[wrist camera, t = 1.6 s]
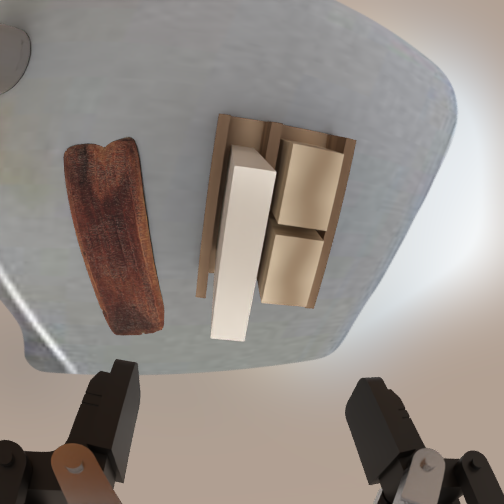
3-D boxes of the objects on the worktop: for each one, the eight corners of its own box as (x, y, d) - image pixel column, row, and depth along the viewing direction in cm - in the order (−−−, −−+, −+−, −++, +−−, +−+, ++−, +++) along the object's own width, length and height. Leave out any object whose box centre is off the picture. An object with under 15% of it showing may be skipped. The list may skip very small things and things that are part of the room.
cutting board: (216, 249, 37) (210, 338, 22) (231, 144, 32) (234, 165, 17) (236, 252, 37) (244, 341, 22) (254, 148, 32) (276, 171, 18)
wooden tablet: (169, 338, 42) (102, 343, 40) (170, 328, 44) (104, 334, 42) (137, 134, 31) (55, 149, 30) (140, 133, 33) (62, 147, 32)
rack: (200, 266, 39) (195, 296, 32) (220, 115, 32) (219, 113, 25) (300, 278, 40) (313, 308, 34) (332, 135, 34) (356, 140, 27)
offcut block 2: (254, 266, 38) (261, 302, 31) (265, 209, 35) (275, 234, 28) (291, 270, 38) (306, 306, 31) (304, 215, 36) (323, 241, 29)
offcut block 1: (266, 200, 35) (277, 223, 28) (278, 138, 32) (293, 143, 25) (306, 206, 35) (326, 231, 28) (318, 146, 33) (344, 154, 25)
